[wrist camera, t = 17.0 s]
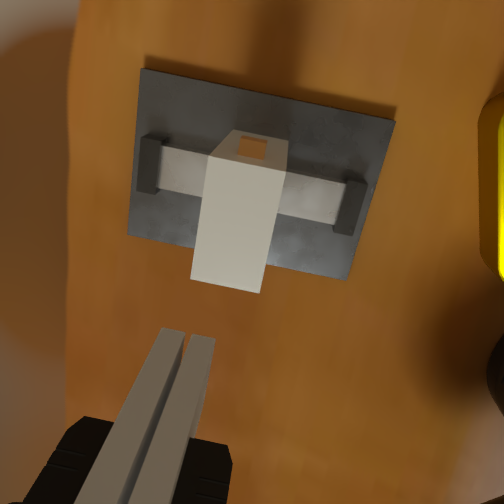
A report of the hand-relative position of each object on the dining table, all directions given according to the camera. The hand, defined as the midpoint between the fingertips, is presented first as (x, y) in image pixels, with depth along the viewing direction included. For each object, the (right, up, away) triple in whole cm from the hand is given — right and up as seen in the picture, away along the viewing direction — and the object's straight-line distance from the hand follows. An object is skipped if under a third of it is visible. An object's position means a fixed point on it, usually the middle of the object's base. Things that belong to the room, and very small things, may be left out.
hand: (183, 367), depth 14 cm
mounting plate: (+2, +10, +23) cm, 25 cm away
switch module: (+2, +10, +22) cm, 24 cm away
